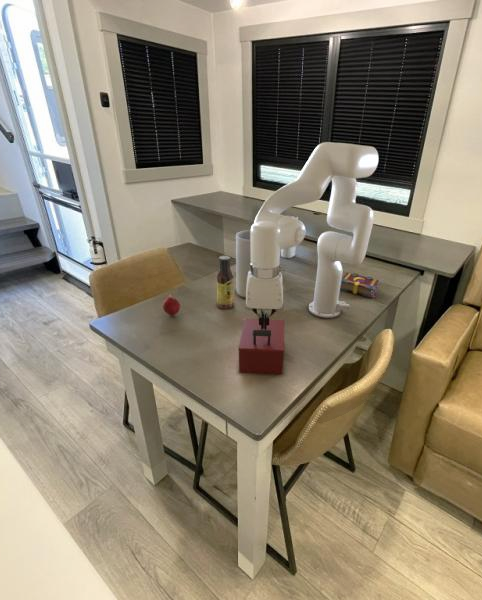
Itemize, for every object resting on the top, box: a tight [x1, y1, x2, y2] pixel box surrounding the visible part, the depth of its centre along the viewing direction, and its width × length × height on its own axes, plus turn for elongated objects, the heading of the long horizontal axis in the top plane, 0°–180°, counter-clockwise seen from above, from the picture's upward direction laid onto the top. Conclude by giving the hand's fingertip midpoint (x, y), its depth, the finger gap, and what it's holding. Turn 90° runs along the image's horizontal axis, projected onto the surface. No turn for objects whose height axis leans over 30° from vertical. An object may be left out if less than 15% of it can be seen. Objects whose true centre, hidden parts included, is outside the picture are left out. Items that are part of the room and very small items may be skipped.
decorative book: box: [340, 272, 379, 299], centre depth 148 cm, size 11×16×5 cm
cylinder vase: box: [235, 229, 251, 299], centre depth 134 cm, size 12×12×25 cm
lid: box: [237, 317, 285, 353], centre depth 97 cm, size 16×13×6 cm
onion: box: [162, 294, 181, 316], centre depth 119 cm, size 6×6×8 cm
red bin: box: [238, 350, 285, 375], centre depth 101 cm, size 15×13×9 cm
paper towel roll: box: [280, 215, 299, 259], centre depth 173 cm, size 7×6×21 cm
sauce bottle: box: [216, 255, 235, 309], centre depth 124 cm, size 6×6×20 cm
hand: (264, 326), depth 96 cm, fingers closed
